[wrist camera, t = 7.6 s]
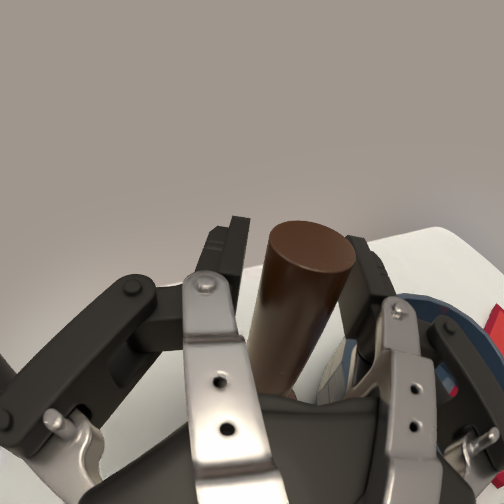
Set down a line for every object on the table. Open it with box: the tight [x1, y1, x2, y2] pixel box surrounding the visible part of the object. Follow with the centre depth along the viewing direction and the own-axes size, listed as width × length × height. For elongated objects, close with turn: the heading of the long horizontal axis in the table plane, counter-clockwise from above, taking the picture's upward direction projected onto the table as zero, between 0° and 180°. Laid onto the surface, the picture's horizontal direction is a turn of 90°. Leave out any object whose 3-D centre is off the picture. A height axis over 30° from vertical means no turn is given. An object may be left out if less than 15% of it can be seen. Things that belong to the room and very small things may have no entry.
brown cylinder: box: [247, 221, 356, 400], centre depth 12 cm, size 5×5×13 cm
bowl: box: [317, 293, 504, 456], centre depth 14 cm, size 15×15×5 cm
